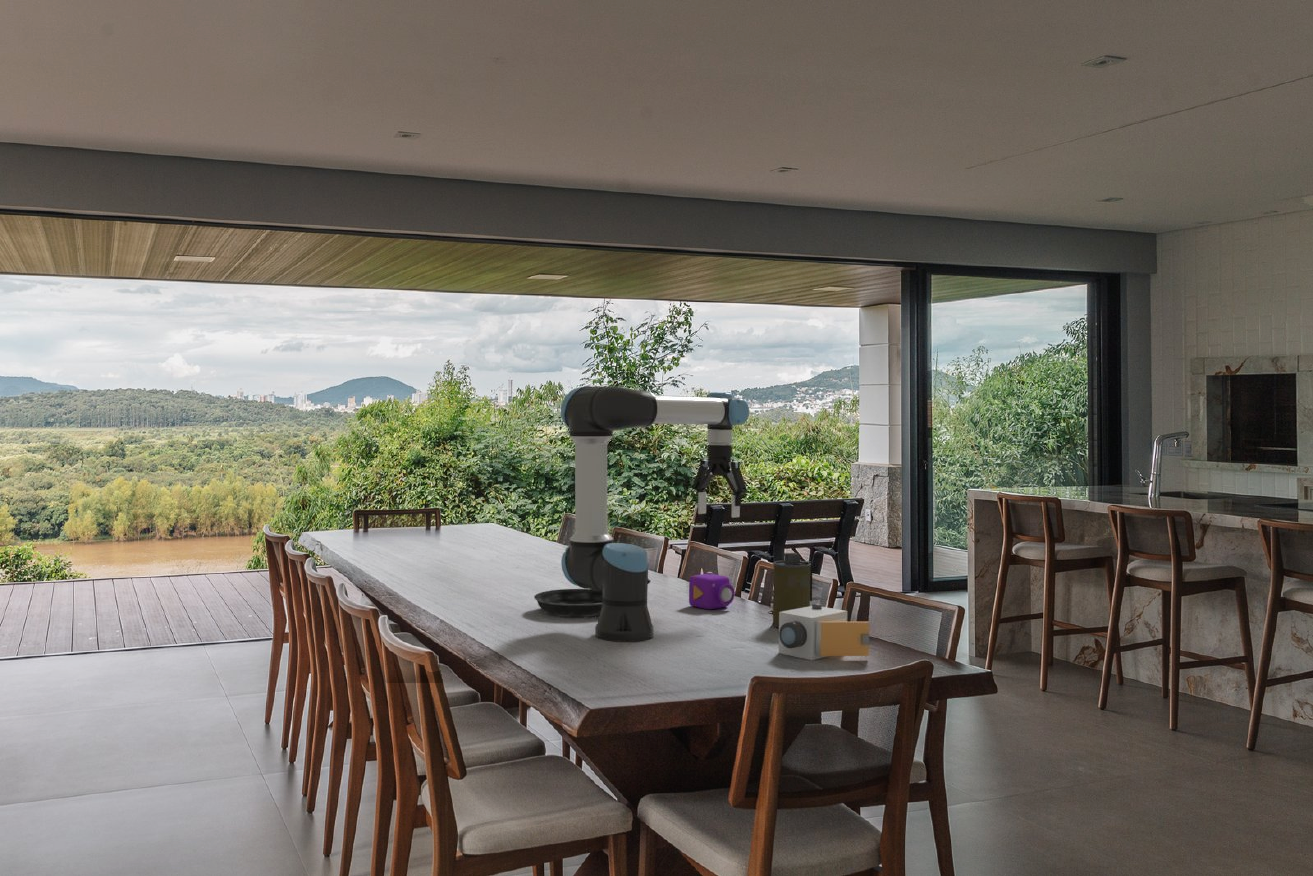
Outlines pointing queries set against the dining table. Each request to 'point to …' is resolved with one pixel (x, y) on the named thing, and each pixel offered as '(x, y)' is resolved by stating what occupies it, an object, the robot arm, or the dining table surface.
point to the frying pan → (571, 602)
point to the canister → (791, 585)
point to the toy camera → (710, 591)
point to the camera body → (804, 629)
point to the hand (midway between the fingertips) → (718, 515)
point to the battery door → (842, 638)
